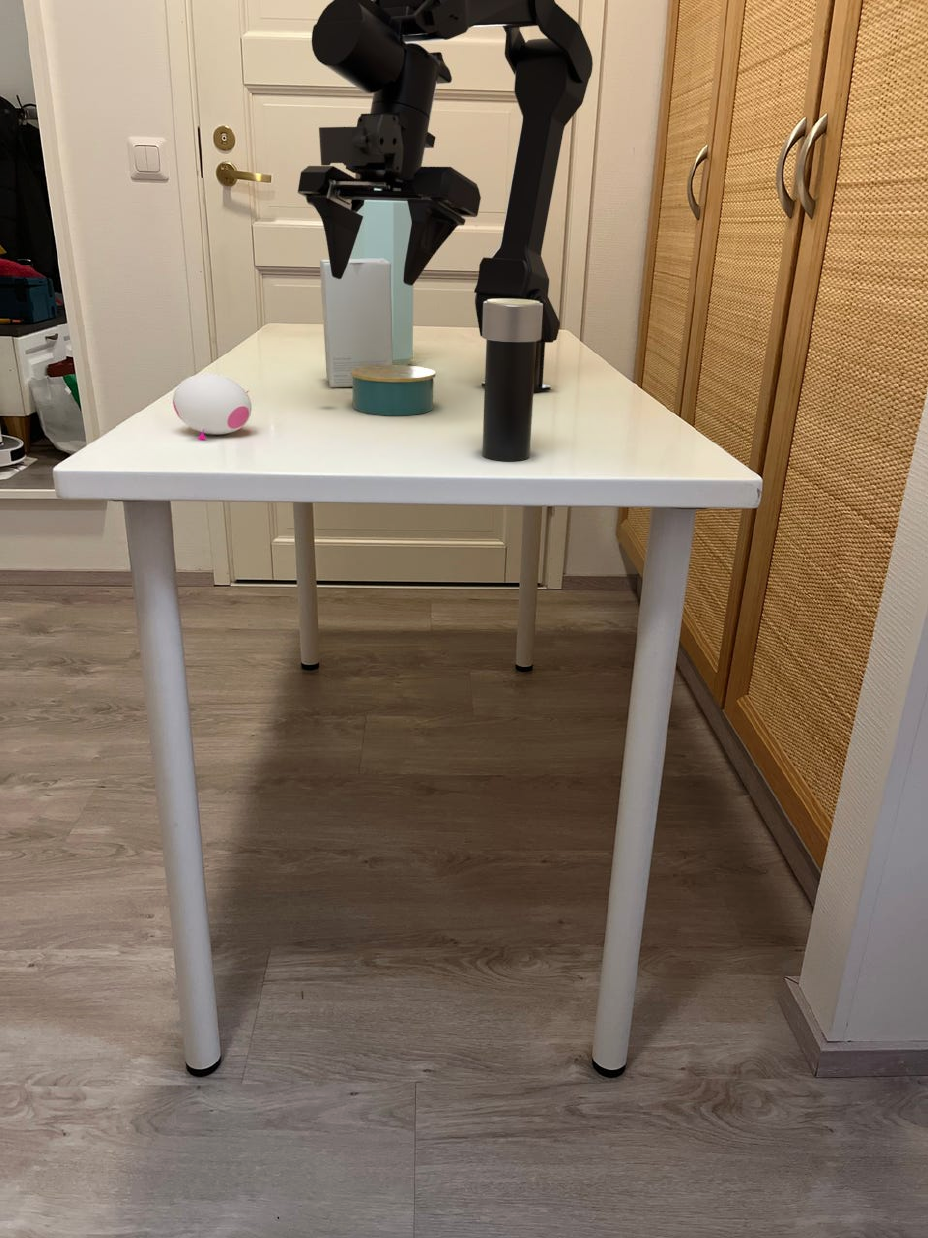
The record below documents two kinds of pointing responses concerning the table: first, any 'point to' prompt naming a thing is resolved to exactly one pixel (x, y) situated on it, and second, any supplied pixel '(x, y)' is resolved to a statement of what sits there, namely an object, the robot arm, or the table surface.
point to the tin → (392, 389)
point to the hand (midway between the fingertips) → (371, 281)
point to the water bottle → (389, 240)
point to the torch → (509, 376)
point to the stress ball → (212, 404)
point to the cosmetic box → (356, 318)
